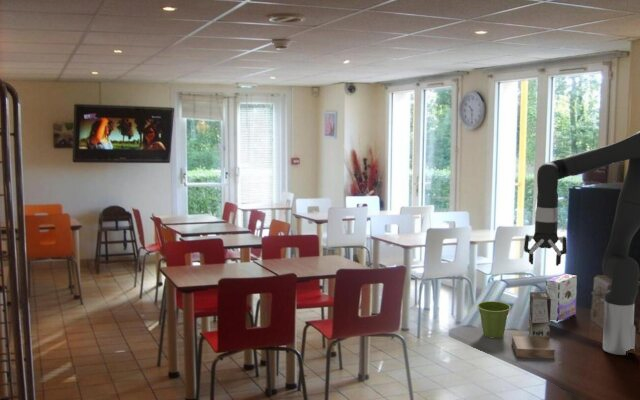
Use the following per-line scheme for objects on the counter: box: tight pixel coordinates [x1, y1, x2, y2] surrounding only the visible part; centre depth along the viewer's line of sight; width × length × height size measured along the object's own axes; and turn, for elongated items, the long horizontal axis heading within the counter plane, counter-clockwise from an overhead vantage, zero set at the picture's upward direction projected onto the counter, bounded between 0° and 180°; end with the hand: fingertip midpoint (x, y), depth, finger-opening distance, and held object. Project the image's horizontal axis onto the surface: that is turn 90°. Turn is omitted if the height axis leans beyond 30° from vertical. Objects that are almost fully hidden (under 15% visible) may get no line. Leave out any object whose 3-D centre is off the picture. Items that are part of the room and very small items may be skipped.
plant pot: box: [476, 300, 512, 339], centre depth 243 cm, size 12×12×11 cm
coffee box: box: [528, 291, 551, 340], centre depth 239 cm, size 9×6×16 cm
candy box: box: [545, 273, 578, 321], centre depth 260 cm, size 14×6×16 cm, turn 130°
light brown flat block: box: [511, 335, 556, 359], centre depth 228 cm, size 12×12×3 cm
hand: (544, 264), depth 235 cm, fingers open, 8 cm apart
